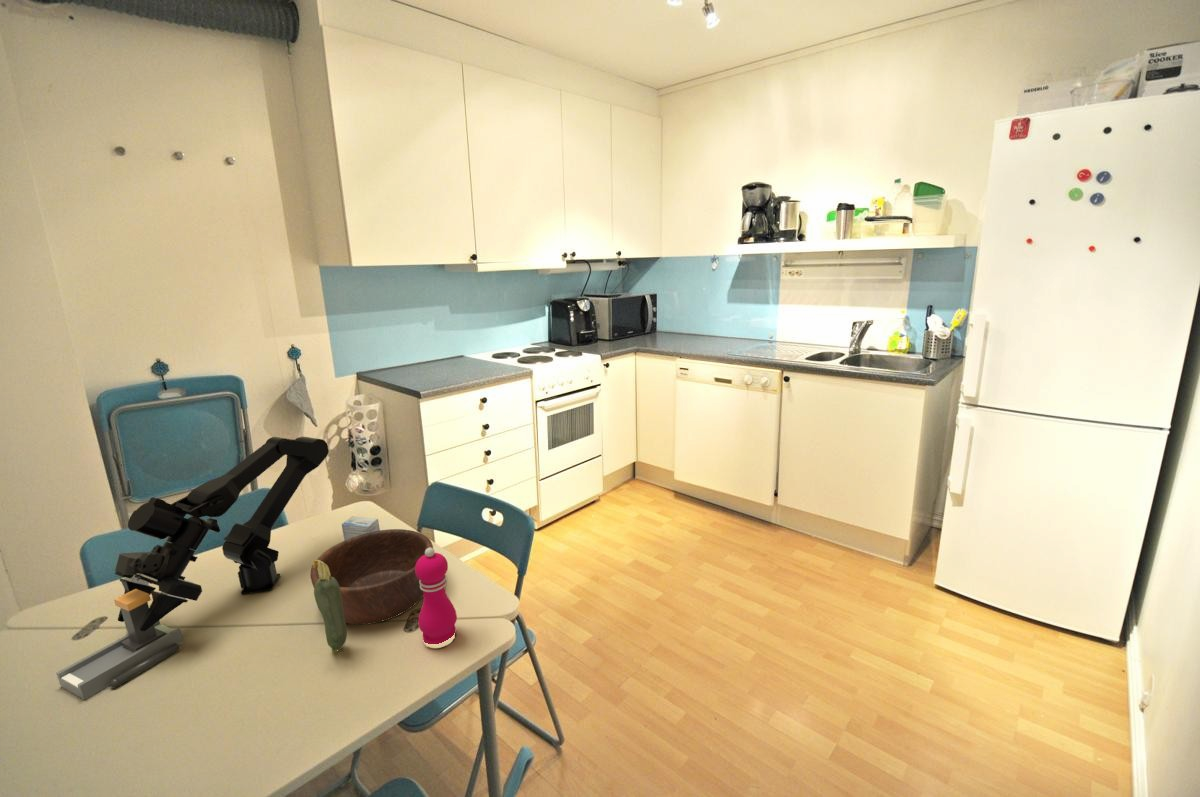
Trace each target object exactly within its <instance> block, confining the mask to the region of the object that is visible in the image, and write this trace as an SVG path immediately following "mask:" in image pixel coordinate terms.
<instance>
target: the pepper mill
mask: <svg viewBox="0 0 1200 797" xmlns="http://www.w3.org/2000/svg"><path fill="white" fill-rule="evenodd" d="M448 569H449V564H448V561H447V558H446V557H445V556H444V555H443V554H442V553H439V552H435V550H434V547H433V548H427V549H426V550H425V555H423V556H422V557H420V558H419V560H418V561H417V563H416V565H415V574H416V576H417V578H418V579H419V580H420V581H419V583H420V589H421V590H423V594H424V595H423V600H422V602H423V603H422V606H421V608H420V612H419V615H418V629H419V630H420V631H421V632H422V641H423V640H424V642H425V643H428V644H439V643H442V642H444V641H446V640H448V639H449V638H451V637H452V636H453V635H454V633H455V630H456V625H455V624H456V622H457V621H458V620H457V619H458V616H457V611H456V609H455V607H454V604H453V603H452V601H451V600H450V599H449V596H448V594H447V592H446V585H447V583H448V580H447V575H446V574H447V572H448ZM456 631H457V630H456ZM424 642H423V643H424Z"/></svg>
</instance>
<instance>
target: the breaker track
mask: <svg viewBox="0 0 1200 797" xmlns="http://www.w3.org/2000/svg"><path fill="white" fill-rule="evenodd" d="M154 628H156V629H158V630H160V631H163V632H165V634H166V635H164V636H163V637H161V638H159V639H157V640H156V641H154V642H152V643H150V644H148V645H147V646H145V647H143V648H141V649H140V650H138V651H136V652H134V651H132V650H130V649H128V648H126V647H124V646H122V645H121V642H122V641H124V640H126V639H128V638H129V636H128V634H127V635H125V636H122V637H121V638H119V639H117V640H115V641H113V642H112V643H109V644H108V645H106V646H103V647H102V648H100V649H98V650H97V651H94V652H93V653H90V654H89V655H87V656H86V657H83V658H82V659H80V660H77V661H76V662H74V663H72V664H70V665H69V666H66V667H65V668H63V669H61V670H58V671H57V672H56V675H57V676H56V677H57V679H58V683H59V685H60V687H61V688H62V689H64V690H66V691H67V692H69V693H71V694H73V695H75V696H77V697H78V698H79V699H82V700H83V701H86V700H88V699H90V698H91V697H93V696H94V695H96V694H98V693H99V692H101V691H103V690H104V689H106V688H108V687H110V688H112V689H113V688H117V687H120V686H121V685H123V684H125V683H126V682H129V681H130V680H131V679H133V678H134V677H136V676H138V675H139V674H142V673H143V672H145V671H146V670H148V669H149V668H152V667H153V666H155V665H156V664H157V663H159V662H161V661H163V660H164V659H166V658H168V657H170V656H171V655H173V654H174V653H177V652H178V651H179V650H180V647H179V645H180V643H181V644H182V643H184V642H185V641H184V637H183V633H182V630H181V629H182V628H180V627H177V628H175V629H174V628H171V627H168V626H166V625H164V624H161V620H159V621H158V622H156V623H155V624H154ZM92 695H93V696H92Z"/></svg>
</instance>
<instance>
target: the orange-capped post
mask: <svg viewBox="0 0 1200 797" xmlns="http://www.w3.org/2000/svg"><path fill="white" fill-rule="evenodd" d="M151 600H152V599H151V595H149V594H148V593H146V592H143V591H140V590H138V589H134V590H132V591H130V592H128V593H126V594H124V593H123V595H120V596H118V597H115V598H114V599H113V601H114V604H115V607H117V608H120V609H121V612H122V615H123V619H124V622H123V623H124V625H125V628H126V632H127V635H128V636H129V638H128V639H126V640H124V641H122V642H121V645H122V646H124V647H126V648H128V649H130V650H132V651H134V652H136V651H138V650H140V649H141V648H143V647H145V646H147V645H148V644H150V643H152V642H154V641H156V640H157V639H159V638H161V637H163V636H164V635H166V634H165V632H163V631H160V630H158V629H156V628H154V625H152V626H151V627H150V628H149V629H147V630H146V631H140V630H139V628H140V626H141V623H142V621H143V619H144V617H145V615H146V613H147V611H148V609H149V607H150V606H149V602H150V601H151Z"/></svg>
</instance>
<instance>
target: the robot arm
mask: <svg viewBox="0 0 1200 797" xmlns="http://www.w3.org/2000/svg"><path fill="white" fill-rule="evenodd" d="M329 452H330V450H329V446H328V443H327V442H326V440H324V439H323V438H322V439H321V438H315V437H309V436H300V437H296V438H295V439H291V438H284V437H279V436H272V437H270V438H268V439H267V440H266V441H265V443H263V444H262V445H261V446H260V447H259V448H257V449H256V450H254V451H253V452H252V453H251V454H249V455H248V456H247V457H246V458H244V459H243V460H242V461H240V462H239V463H238V464H236V465H235V466H234V467H233V468H230V470H228V471H227V472H226V473H224V474H223V475H221V476H219V477H216V478H213V479H210V480H207V481H205V482H204V483H202V484H200V485H198V486H197V487H195V488H193V489H192V490H191V491H190V492H189V493H188V494H187V495H186V496H184V497H182V498H180V499H178V500H176V501H174V502H172V503H169V502H167V501H165V500H163V499H160V498H159V497H155V496H151V497H150V499H149V500H148V501H147V502H145V503H144V504H141V505H140V506H139V507H137V509H135V510H134V511H133V512H132V513H131V515H130V516H129V519H128V522H127V527H128V529H129V531H131V532H136V533H137V534H138V533H139V534H141V535H144V536H147V537H150V538H153V539H157V540H165V541H164V542H163V544H162V545H159V544H157V545H156V546H154V547H153V548H152V550H151V551H138V552H135V551H134V552H123V553H122V552H121V553H119V554H118V558H117V562H116V565H115V570H114V571H115V573H114V575H117V576H120V577H122V578H119V582H121V585H122V586H123V589H124V593H123V595H124V594H126V593H128V592H130V591H132V590H134V589H138V590H140V591H143V592H146V593H148V594H149V596H151V598H152V602H151V604H150V606H149V609H148V611H147V613H146V615H145V617H144V619H143V621H142V623H141V626H140V628H139V630H140V631H146V630H147V629H149V628H150V627H151V626H152V625H154V624H155V623H156V622H158V621H161V620H162V619H163V618H164V617H166V616H167V615H168V614H169V613H171V612H172V611H174V610H175V609H177V608H178V607H179V606H181V605H182V604H184V603H185V604H186V603H188V601H189V600H192V601H198V599H199V597H200V596H201V594H202V592H203V588H202V585H200V584H197V583H194V582H192V581H188V580H185V579H186V577H185V576H182V575H183V574H184V571H185V570H186V569H187V566H188V565H189V563H190V562H192V563H195V562H196V561H197V559H198V556H195V554H196V552H197V551H198V549H199V547H200V546H201V544H202V543H203V540H204V539H205V538H206V536H207V534H208V532H209V531H210V532H215V533H220V532H221V529H220V526H219V524H218V519H217V518H219V517H221V516H223V515H225V514H226V513H227V512H228V510H230V508H231V507H232V506H233V505H234V504H236V502H237V501H238V498H239V496H240V494H241V492H242V491H243V490H244V489H245V488H246V487H247V486H248V485H250V484H251V483H252V482H254V480H256V479H257V478H258V477H260V476H261V475H262V474H263V473H264V472H266V471H267V470H268V469H269V468H271V466H273V465H274V464H275V463H277V462H278V461H279V460H280V459H282V458H283V457H285V456H286V465H285V466H284V469H282V471H281V473H280V474H279V476H278V477H277V479H276V481H275V482H274V483H273V485H272V486H271V488H270V489H269V490H268V492H267V494H266V495H265V497H264V498H263V499H262V501H261V503H260V505H259V506H258V507H257V508H256V510H255V512H254V513H253V515H252V516H251V517H250V519H248V521H245V522H244V523H243V524H240V523H234V525H233V526H232V527H231V529H230V532H229V533H228V534H227V535H226V536H225V537H224V538H223V539H222V540H223V541H224V542H223V545H222V547H221V549H222V553H223V556H224V557H225V558H226V559H227V560H231V561H232V562H234V563H235V564H239V566H238V572H237V575H238V576H237V577H238V580H239V581H238V582H239V585H240V589H242V590H241V591H240V595H248V594H249V595H251V594H255V593H263V592H269V591H272V590H273V589H274V587H275V585H276V584H277V582H278V581H279V579H280V577H281V573H277V567H276V563H275V562H277V561H278V559H279V551H278V550H276V549H274V548H270V547H269V545H270V543H271V536H272V535H271V534H272V528H273V527H274V526H275V524H276V522H277V520H278V519H279V518H280V515H281V514H282V513H283V511H284V509H285V508H286V506H287V505H288V503H289V502H290V501H291V499H292V497H293V496H294V494H295V493H296V491H297V489H298V488H299V486H300V485H301V483H302V481H303V480H304V479H305V477H306V476H307V475H308V474H309V473H311V472H312V471H314V470H315V469H317V468H319V467H320V465H321V464H322V463H323V462H324V461H325V460H326V459H327V457H328V454H329ZM186 516H189V517H188V518H186ZM203 517H209V518H207V519H204V518H203ZM151 584H153V585H155V586H157V587H158V591H155V590H156V589H157V587H155V586H152V585H151ZM117 621H118V622H121V623H125V622H124V619H123V615H122V612H121V608H120V609H119V613H118V616H117Z"/></svg>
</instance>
